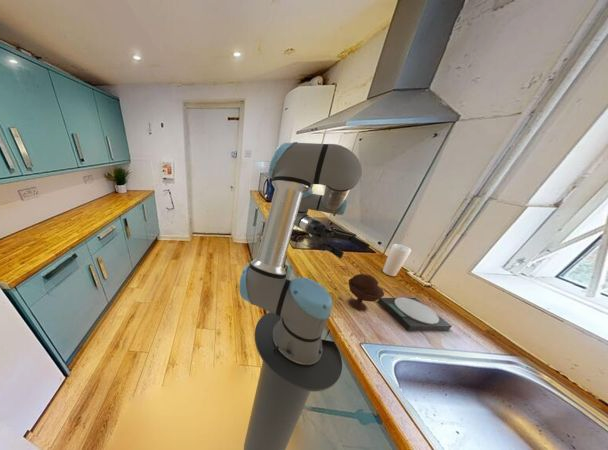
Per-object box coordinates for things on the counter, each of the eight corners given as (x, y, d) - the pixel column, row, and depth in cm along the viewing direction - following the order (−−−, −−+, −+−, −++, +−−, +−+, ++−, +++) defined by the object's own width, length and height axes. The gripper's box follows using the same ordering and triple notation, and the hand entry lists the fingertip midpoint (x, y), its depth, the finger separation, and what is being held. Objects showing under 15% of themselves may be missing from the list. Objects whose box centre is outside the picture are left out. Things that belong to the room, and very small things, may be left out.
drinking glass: (385, 268, 102) (397, 242, 96) (401, 276, 96) (415, 249, 90) (377, 270, 100) (389, 245, 94) (392, 279, 94) (406, 252, 88)
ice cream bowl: (380, 318, 73) (398, 287, 67) (348, 313, 75) (362, 282, 69) (365, 297, 83) (379, 268, 76) (336, 293, 84) (348, 264, 78)
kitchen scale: (407, 330, 69) (411, 324, 67) (377, 302, 80) (380, 296, 79) (448, 330, 69) (453, 324, 68) (412, 302, 81) (415, 296, 80)
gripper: (330, 228, 98) (374, 252, 81) (289, 238, 91) (327, 266, 74) (334, 215, 95) (381, 237, 77) (292, 224, 88) (333, 250, 70)
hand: (355, 251), depth 75 cm, fingers open, 13 cm apart
